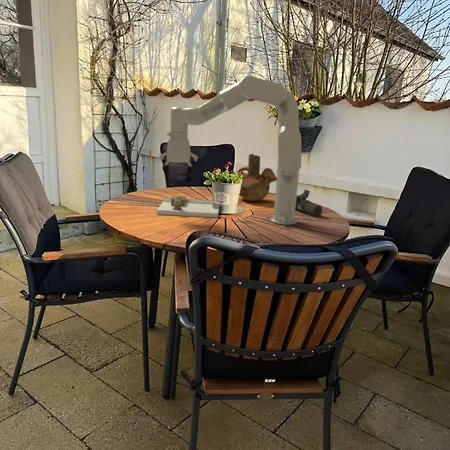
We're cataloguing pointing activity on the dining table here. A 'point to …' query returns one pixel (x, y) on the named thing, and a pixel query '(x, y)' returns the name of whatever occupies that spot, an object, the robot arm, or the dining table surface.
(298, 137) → the robot arm
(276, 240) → the dining table surface
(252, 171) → the ceramic vessel
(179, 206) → the tan cylinder
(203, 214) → the wall panel
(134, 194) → the dining table surface
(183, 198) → the block
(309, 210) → the laser sight
